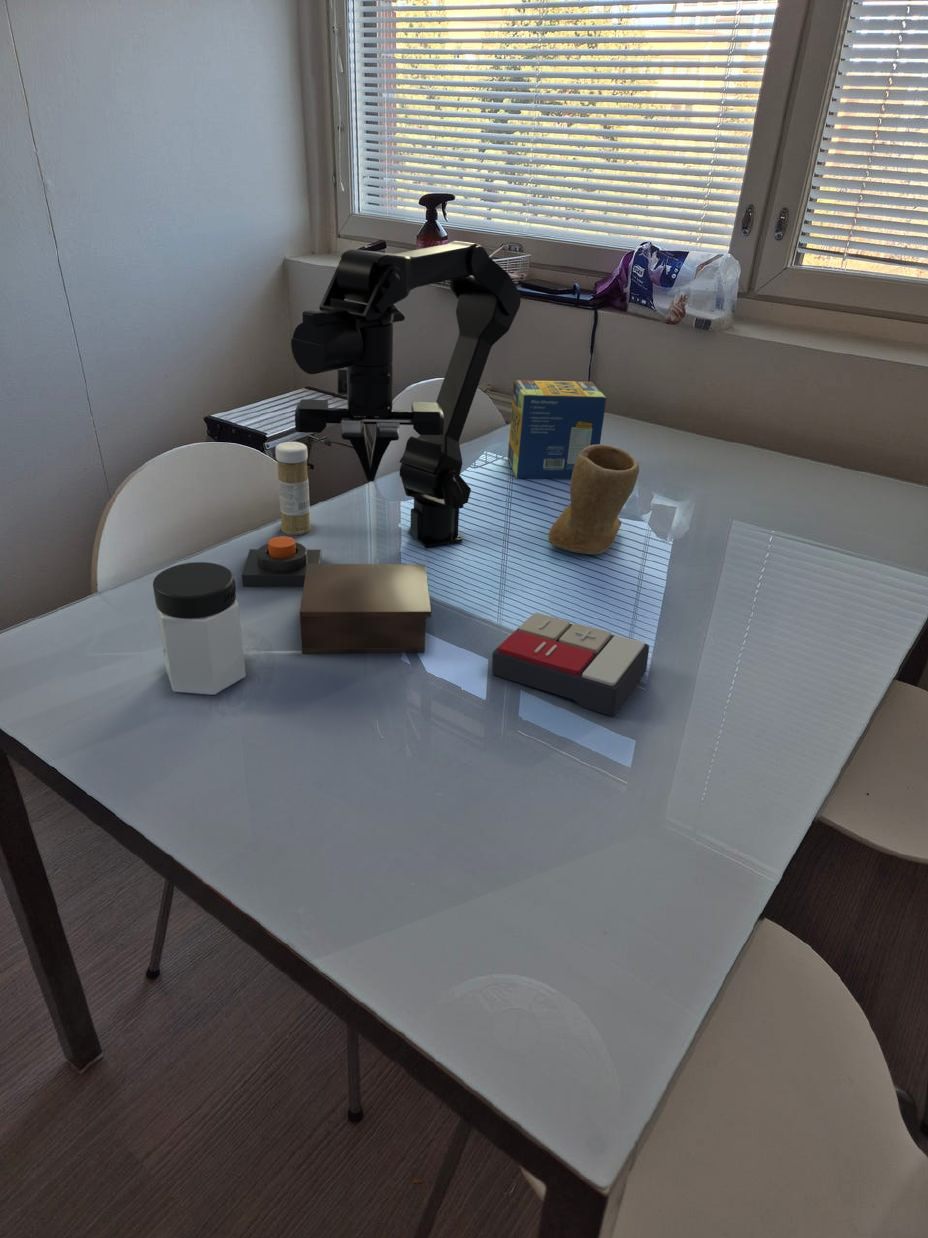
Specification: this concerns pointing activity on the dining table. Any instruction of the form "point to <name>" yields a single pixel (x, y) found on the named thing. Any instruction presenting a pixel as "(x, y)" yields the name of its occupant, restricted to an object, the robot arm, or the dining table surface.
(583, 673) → the calculator
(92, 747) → the dining table surface
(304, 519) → the sprinkles bottle
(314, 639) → the wooden box
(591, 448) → the stone cup
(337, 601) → the lid
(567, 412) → the protein box
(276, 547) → the button
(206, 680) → the jar
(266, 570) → the control block
